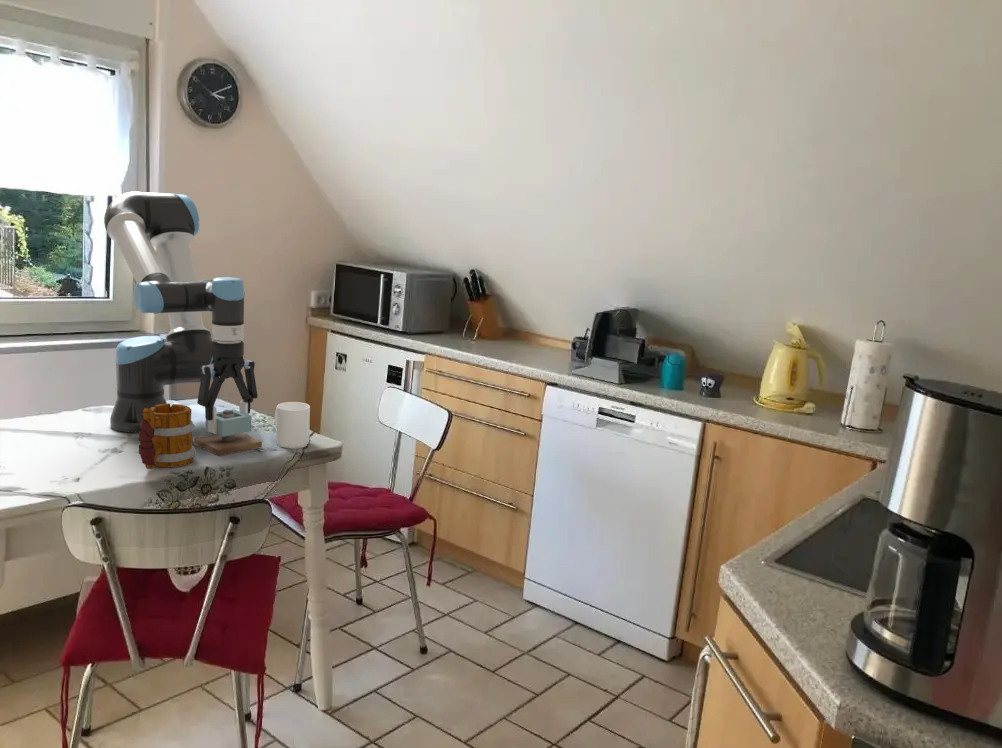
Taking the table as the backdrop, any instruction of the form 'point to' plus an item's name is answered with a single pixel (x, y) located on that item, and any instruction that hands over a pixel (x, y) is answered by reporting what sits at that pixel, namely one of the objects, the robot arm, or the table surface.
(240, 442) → the post block
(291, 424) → the cup
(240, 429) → the ring
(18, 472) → the table surface
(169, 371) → the robot arm
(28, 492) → the table surface
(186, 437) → the mug
